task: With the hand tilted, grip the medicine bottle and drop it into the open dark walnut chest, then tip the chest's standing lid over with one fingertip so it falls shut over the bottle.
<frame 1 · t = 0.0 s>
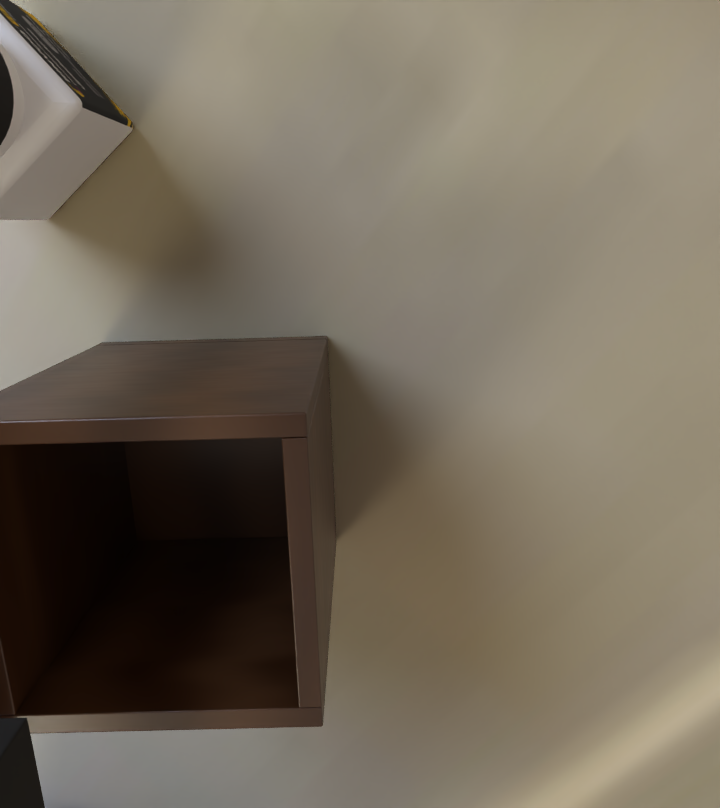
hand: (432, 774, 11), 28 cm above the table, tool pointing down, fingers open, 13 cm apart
medicine bottle: (42, 122, 34), on the table
chest: (223, 446, 39), on the table
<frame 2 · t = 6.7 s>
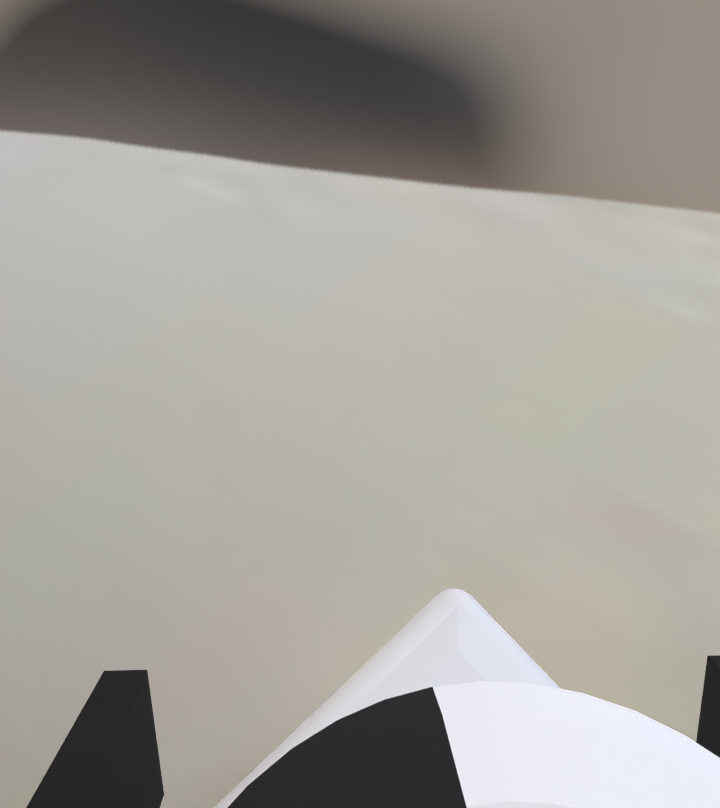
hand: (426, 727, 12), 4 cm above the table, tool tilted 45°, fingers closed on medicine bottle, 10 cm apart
when the fingers open (17 cm above the table, at t = 21.4 s): medicine bottle drops 12 cm, resting on chest.
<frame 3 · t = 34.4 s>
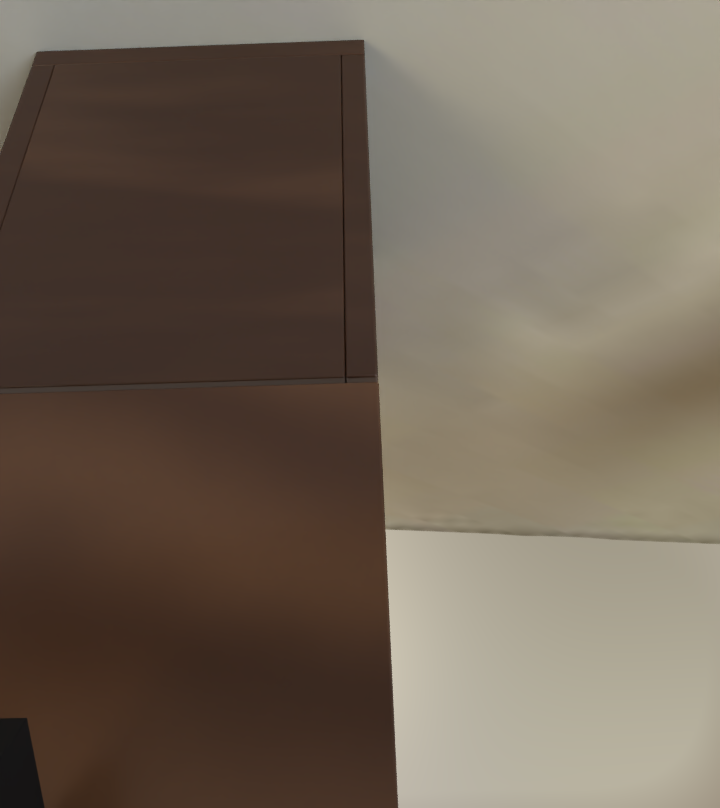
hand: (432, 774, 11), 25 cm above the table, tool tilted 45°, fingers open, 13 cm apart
chest: (231, 175, 31), on the table
lid: (83, 655, 14), point 23 cm above the table, hinge at 97.7°, touching gripper
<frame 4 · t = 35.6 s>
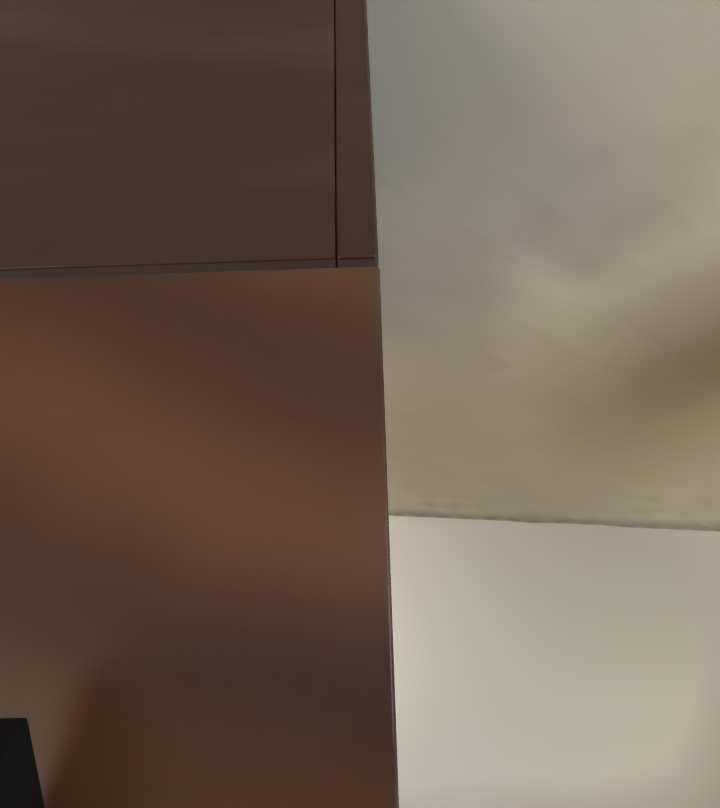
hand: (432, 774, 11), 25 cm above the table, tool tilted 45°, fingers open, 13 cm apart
chest: (209, 83, 27), on the table
lid: (53, 624, 12), point 22 cm above the table, hinge at 70.8°, touching gripper
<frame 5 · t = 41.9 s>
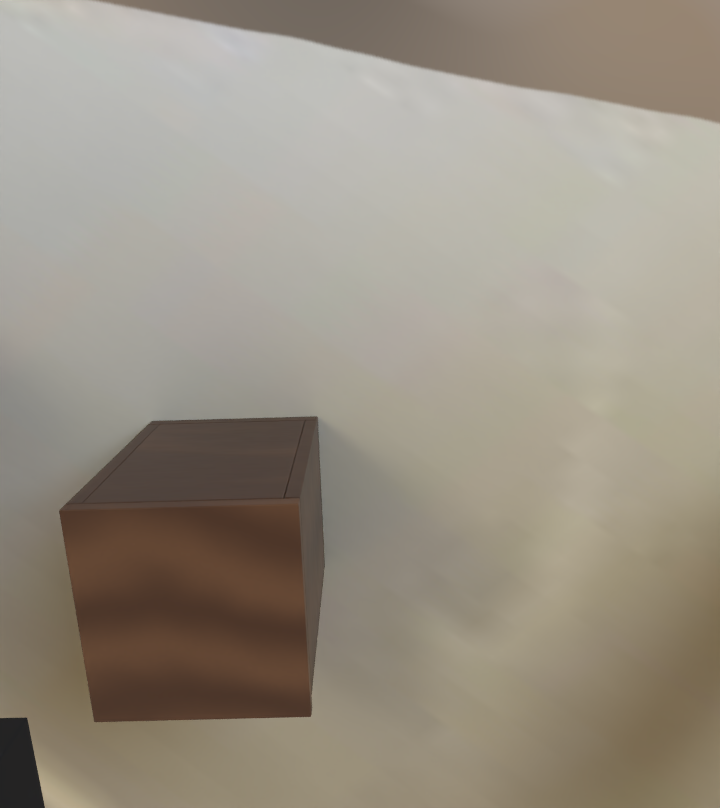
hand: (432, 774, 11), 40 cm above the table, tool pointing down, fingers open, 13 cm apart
chest: (241, 495, 52), on the table
lid: (192, 614, 37), point 16 cm above the table, hinge at -0.2°
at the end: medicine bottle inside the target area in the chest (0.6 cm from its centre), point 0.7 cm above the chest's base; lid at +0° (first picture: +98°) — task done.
